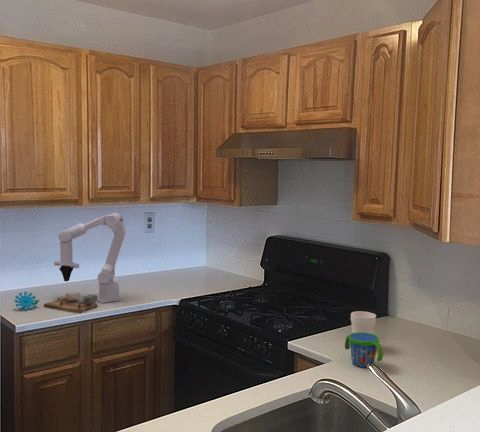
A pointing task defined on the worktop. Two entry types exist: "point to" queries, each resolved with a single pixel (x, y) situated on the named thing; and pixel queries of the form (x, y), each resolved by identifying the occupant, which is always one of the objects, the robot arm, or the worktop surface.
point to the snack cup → (363, 348)
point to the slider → (71, 296)
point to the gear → (26, 301)
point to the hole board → (69, 306)
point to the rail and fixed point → (86, 300)
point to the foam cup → (363, 322)
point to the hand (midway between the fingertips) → (66, 280)
